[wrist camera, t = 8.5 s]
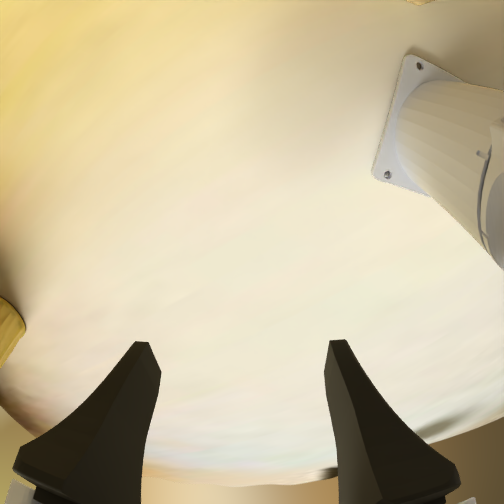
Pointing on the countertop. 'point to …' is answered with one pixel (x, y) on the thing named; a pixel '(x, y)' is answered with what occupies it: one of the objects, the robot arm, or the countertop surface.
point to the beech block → (419, 1)
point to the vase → (9, 329)
